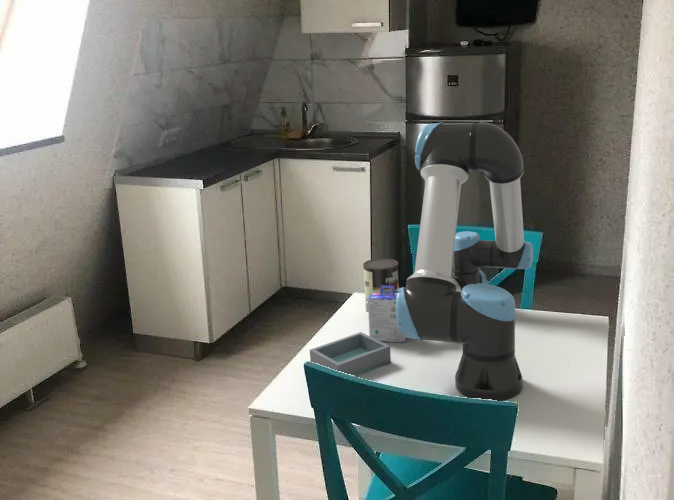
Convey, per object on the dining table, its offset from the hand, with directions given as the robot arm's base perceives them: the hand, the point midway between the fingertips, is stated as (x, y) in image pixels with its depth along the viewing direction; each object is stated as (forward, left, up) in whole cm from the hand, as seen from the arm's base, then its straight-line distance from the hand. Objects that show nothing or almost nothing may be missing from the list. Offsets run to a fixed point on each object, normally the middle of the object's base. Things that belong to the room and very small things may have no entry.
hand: (381, 314), depth 196 cm
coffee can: (+20, -11, -8) cm, 24 cm away
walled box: (-9, +14, -7) cm, 18 cm away
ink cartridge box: (0, -2, -8) cm, 8 cm away
